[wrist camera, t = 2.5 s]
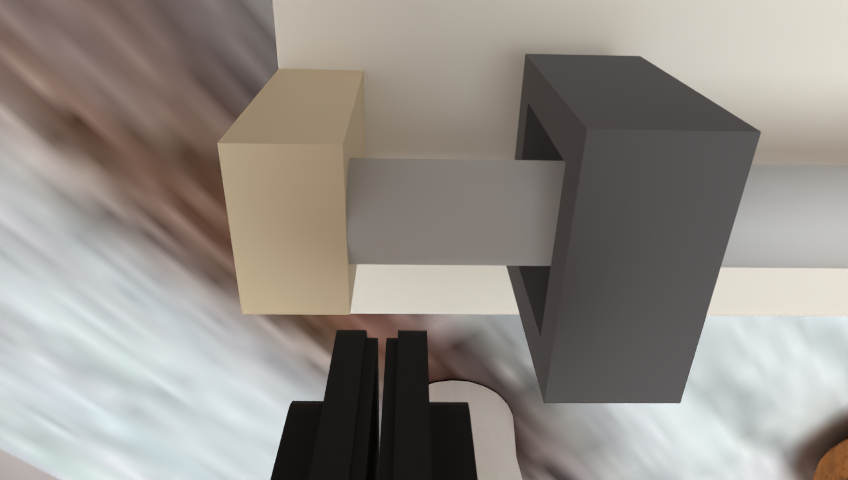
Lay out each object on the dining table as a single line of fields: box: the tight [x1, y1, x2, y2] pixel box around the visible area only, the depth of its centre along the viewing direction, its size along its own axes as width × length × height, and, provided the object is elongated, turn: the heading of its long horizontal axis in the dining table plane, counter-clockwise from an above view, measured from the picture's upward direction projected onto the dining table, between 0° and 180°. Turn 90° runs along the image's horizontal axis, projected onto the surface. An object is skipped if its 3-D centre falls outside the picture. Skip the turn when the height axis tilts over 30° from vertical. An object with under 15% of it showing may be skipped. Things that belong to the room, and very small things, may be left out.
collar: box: [506, 54, 761, 403], centre depth 17 cm, size 7×4×7 cm, turn 179°
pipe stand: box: [217, 0, 848, 316], centre depth 20 cm, size 16×36×9 cm, turn 89°
